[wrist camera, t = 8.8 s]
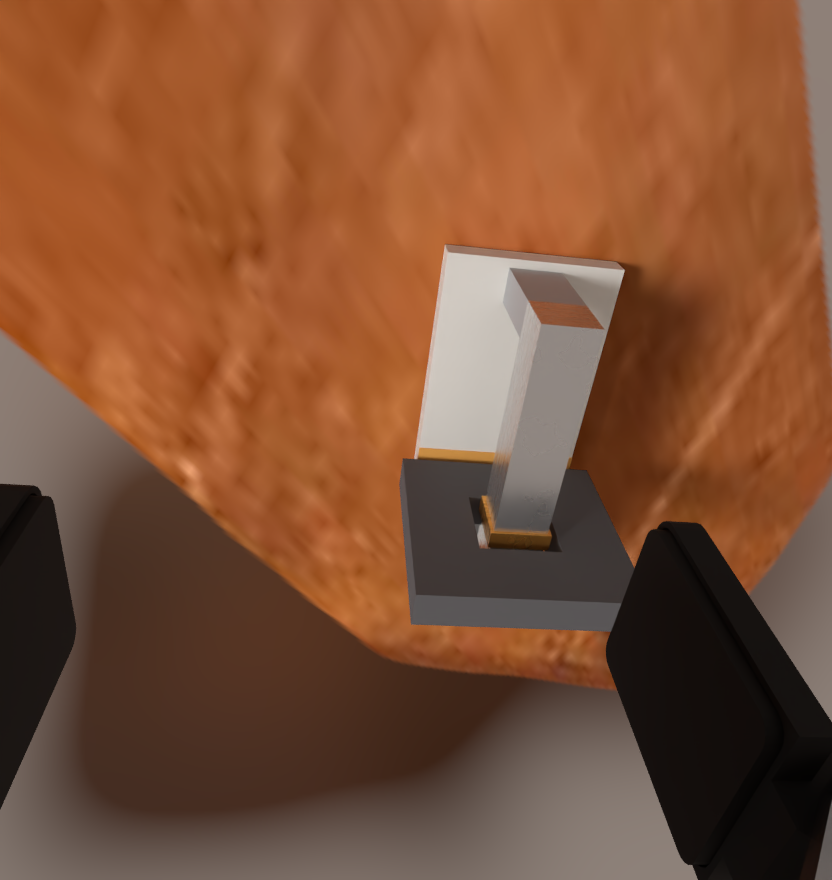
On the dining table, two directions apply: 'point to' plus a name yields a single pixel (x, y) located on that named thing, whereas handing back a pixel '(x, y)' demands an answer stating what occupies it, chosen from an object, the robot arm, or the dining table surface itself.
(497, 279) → the stand
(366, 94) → the dining table surface
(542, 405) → the grey square bar
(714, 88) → the dining table surface
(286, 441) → the dining table surface
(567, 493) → the collar
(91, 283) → the dining table surface
